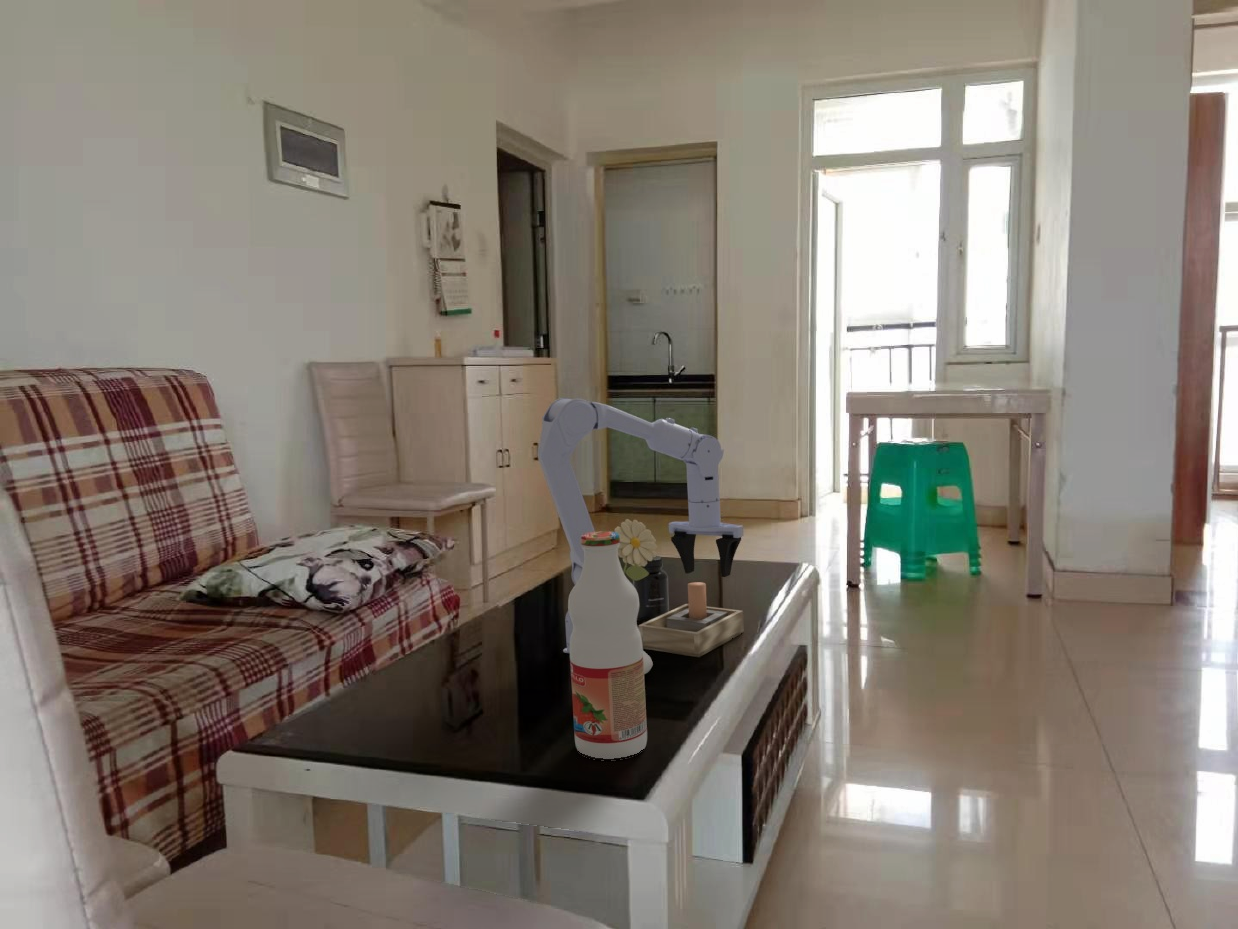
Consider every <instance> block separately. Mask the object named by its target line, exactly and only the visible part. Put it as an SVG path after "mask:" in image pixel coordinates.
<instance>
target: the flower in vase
mask: <svg viewBox="0 0 1238 929" xmlns="http://www.w3.org/2000/svg"><path fill="white" fill-rule="evenodd" d="M646 528H647V526H646V525H645V524H644V523H643V522H641V521H638V520H637V519H633V520H630V519H628V518H626V519H625V521H622V522H621V523H620V526H616V527H615V528H614V531H613V532H616V533H618V534H619V538H620V543H619V544H620V546H619V547H618V557H619V558H622V562H623V563H624V567H623V569H622V570H623V572H624V574H626V575H627V576H628V577H629V578H630V579H631V580H632V581H633V580H640V579H643V578H644V577H646V576H647V575H649V573H648V572H647V571H646V570H645V569H644V568H643V567H641V566H645V565H646V564H647V560H648V561H652V559H653V557H656V556H657V553H656V550H657V549H658V545H657V544H656V542H657V539H656V538H655V536H654V534H652V531H651V530H650V529H646ZM628 564H629V565H630V566H628ZM627 566H628V567H627ZM643 664H644V675H646V674H648V673H649V672H650V671H651V669H652V667H653V665H654V664H653V661H652V657H651V656H650V655H648V653H646V651H644V650H643Z"/></svg>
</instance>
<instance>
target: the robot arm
mask: <svg viewBox="0 0 1238 929" xmlns="http://www.w3.org/2000/svg"><path fill="white" fill-rule="evenodd" d="M675 422H676V420H675V419H674V418H670V417H666V418H665V419H664V418H659V419H657V420H654V421H653V422H651V421H648V420H645V419H643V418H641V417H637V416H636V415H633V414H632V413H631V414H630V413H629V412H626V411H623V410H621V409H618V408H615V407H614V406H611V405H608V404H605V403H600V402H595V401H587V400H585V399H583V398H574V399H573V398H567V397H560V398H557V399H556V400H553V402H552V403H550V405H549V406H548V408H547V409H546V411H545V413H544V414H543V416H542V418H541V424H542V427H541V431H540V436H539V437H540V438H539V441H538V442H539V443H538V449H537V454H536V455H537V458H538V462H539V465H540V467H541V471H542V473H543V476H544V478H545V482H546V484H547V487H548V489H549V493H550V495H551V498H552V501H553V504H554V507H555V509H556V512H557V515H558V517H559V520H560V523H561V526H562V529H563V531H564V534H565V537H566V540H567V543H568V545H569V548H570V553H569V559H570V562H571V580H572V583H573V585H574V586H575V585H576V583H577V582H578V580H579V578H580V575H581V573H582V568H583V563H584V549H582V545H581V536H582V535H583V534H586V533H591V532H596V531H595V527H594V525H593V522H592V519H591V516H590V513H589V510H588V508H587V505H586V502H585V499H584V497H583V493H582V491H581V488H580V485H579V482H578V480H577V476H576V474H575V470H574V468H573V465H572V462H571V456H572V455H573V453H574V451H575V449H576V448H577V446H578V444H579V442H581V441H583V439H584V438H585V437H587V436H588V434H590V433H591V432H592V431H593V430H602V429H606V428H609V429H611V430H615V431H619V432H621V433H624V434H627V435H631V436H634V437H637V438H641V439H644V440H645V442H646V444H647V446H648V448H649V449H650V450H652V451H655V452H657V453H660V454H663V455H666V456H669V457H672V458H675V459H677V460H681V461H683V462H684V463H685V465H686V484H687V488H686V489H687V503H688V504H687V507H688V521H672V522H669V523H668V533H669V534H673V536H671V537H670V541H671V543H672V544H673V545H674V548H675V549H676V551H677V553H678V555H679V557H680V559H681V562H682V566H683V569H684V573H685V574H690V573H693V572H694V571H695V545H696V544H695V543H696V542H695V541H696V536H697V535H698V536H699V535H700V536H701V535H702V536H713V537H714V536H717V537H720V538H717V539H715V544H716V547H717V550H718V555H719V556H718V557H719V564H720V566H719V567H720V569H719V570H720V575H721V578H727V577H729V576H730V575H731V571H732V566H733V563H734V562H733V561H734V558H735V555H736V552H737V549H738V548H739V545H740V543H741V541H742V537H744V525H739V524H732V523H725V522H721V519H722V518H721V517H722V516H721V499H720V498H721V497H720V496H721V494H720V477H719V476H720V475H719V464H720V463H721V461H722V459H723V457H724V449H723V448H722V446H721V443H720V441H719V440H718V438H716V437H714V436H712V435H710V434H701V433H699V432H698V431H699V429H698V428H697V427H696V428H695V427H690V428H688V427H686V426H683V425H680V424H677V423H675ZM564 619H565V620H564V621H565V622H564V623H565V639H566V647H565V648H564V649H563V650H562V651H563V653H565V654H570V637H571V634H572V631H573V623H572V620H571V617H570V614H569V610H567V612H566V613H565V617H564Z"/></svg>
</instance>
